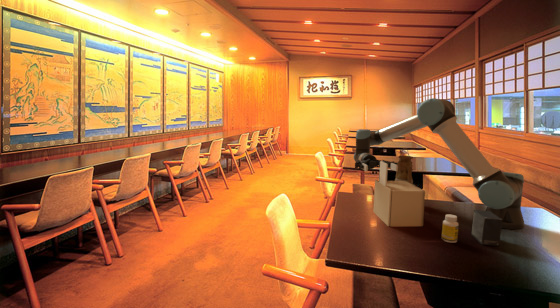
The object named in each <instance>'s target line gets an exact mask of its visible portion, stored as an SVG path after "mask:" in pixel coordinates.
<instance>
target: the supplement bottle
mask: <svg viewBox="0 0 560 308" xmlns="http://www.w3.org/2000/svg"><path fill="white" fill-rule="evenodd" d="M459 225H460V224H459V222H458V216H457V215H454V214H449V213H448V214H445V217H444V220H442V228H441V229H442V230H441V240H442V241H444V242H447V243H451V244H453V243H457V242H458V236H459V227H460V226H459Z"/></svg>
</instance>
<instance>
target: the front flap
mask: <svg viewBox="0 0 560 308" xmlns="http://www.w3.org/2000/svg"><path fill="white" fill-rule="evenodd" d="M388 169H389V168H388V164H387V163H384V162H382V160H381V161H380V167H379V177H378V179H375V180H374V193H373V194H374V195H373V210H372V211H373V212H372V213H374V214H375V215H376V216H377V217H378V218H379V219H380V220H381V221H382V222H383V224H385V225H386V226H387V227H390V208H391V191H392V190H391V189H390V188H388V187H387V181H388Z"/></svg>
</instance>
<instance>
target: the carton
mask: <svg viewBox="0 0 560 308" xmlns="http://www.w3.org/2000/svg"><path fill="white" fill-rule="evenodd" d="M387 187H388V188H390V189H391V190H392V191H391V208H390V225H389V227H391V228H392V227H423V226H424V214H425V199H426V197H425V196H426V190H423V189H422V188H420V187H418V186H416V185H415V184H414V183H412V184H411V183H409V182H407V181H395V180H387Z"/></svg>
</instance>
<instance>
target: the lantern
mask: <svg viewBox="0 0 560 308" xmlns="http://www.w3.org/2000/svg"><path fill="white" fill-rule="evenodd" d="M404 149H406V151H407V154H408V155H402V154H403V151H404ZM398 158H399V160H398V161H397V163H398V164H397V165H398V170H397V171H395V172H396V174H395V179H394V181H407V182H409V183H411V184H414V183H413V182H414V180H413V176H412V172H413V171H414V169H413V161H412V160H413V159H414V157H413V156H411V155H410V154H409V149H408V148H407V147H404V148H402V150H401V152H400V155H398Z"/></svg>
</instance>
